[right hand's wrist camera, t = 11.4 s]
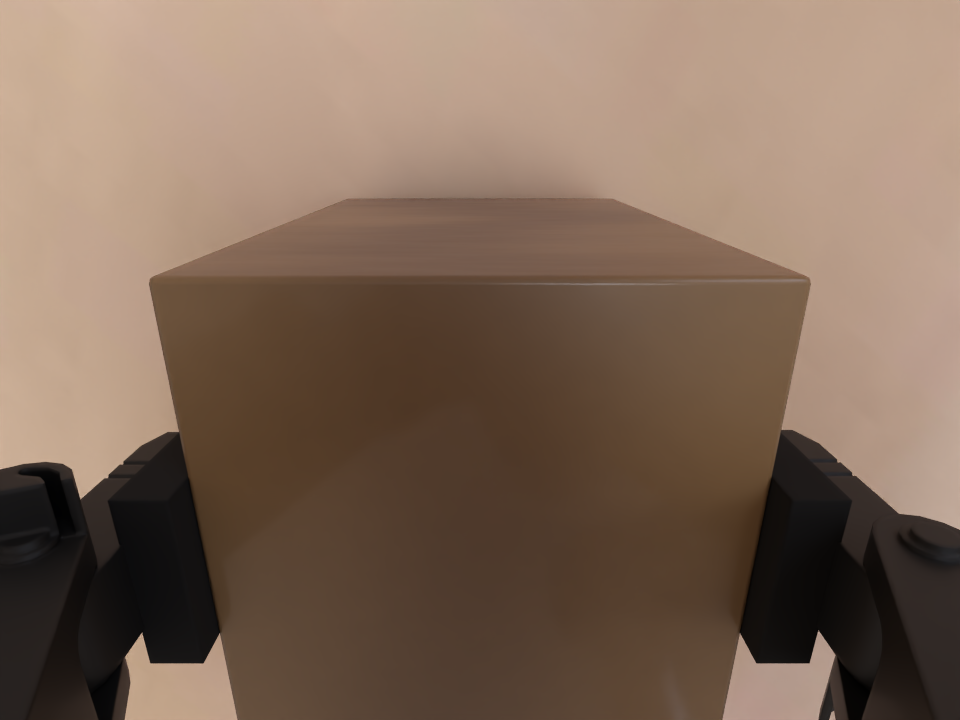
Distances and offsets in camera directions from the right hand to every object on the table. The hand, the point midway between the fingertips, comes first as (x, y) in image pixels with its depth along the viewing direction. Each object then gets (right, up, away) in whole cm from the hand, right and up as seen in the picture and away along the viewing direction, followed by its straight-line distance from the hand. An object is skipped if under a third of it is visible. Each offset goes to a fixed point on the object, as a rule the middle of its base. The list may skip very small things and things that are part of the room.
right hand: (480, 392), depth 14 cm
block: (0, +2, +4) cm, 5 cm away
